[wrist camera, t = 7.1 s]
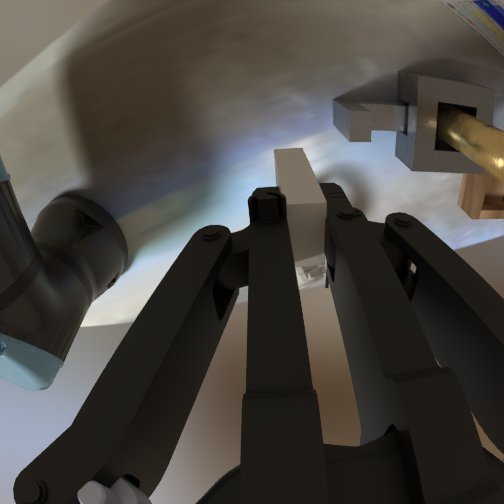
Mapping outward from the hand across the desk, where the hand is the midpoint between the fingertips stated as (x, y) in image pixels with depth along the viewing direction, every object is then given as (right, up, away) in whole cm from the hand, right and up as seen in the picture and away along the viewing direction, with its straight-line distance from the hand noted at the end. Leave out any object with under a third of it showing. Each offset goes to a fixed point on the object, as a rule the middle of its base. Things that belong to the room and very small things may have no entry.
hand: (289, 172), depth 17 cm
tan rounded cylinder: (+19, +11, +13) cm, 26 cm away
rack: (+30, +6, +16) cm, 34 cm away
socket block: (+19, +11, +13) cm, 26 cm away
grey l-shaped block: (+12, +11, +14) cm, 21 cm away
